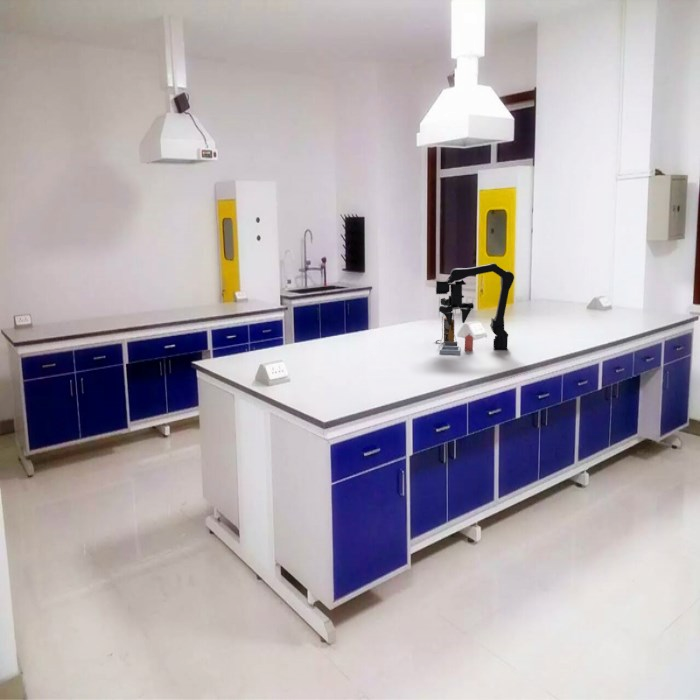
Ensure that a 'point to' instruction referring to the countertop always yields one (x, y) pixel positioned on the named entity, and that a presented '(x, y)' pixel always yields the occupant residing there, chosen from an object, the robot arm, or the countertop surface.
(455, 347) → the tray
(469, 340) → the red rounded cylinder
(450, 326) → the multimeter
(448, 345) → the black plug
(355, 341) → the countertop surface
